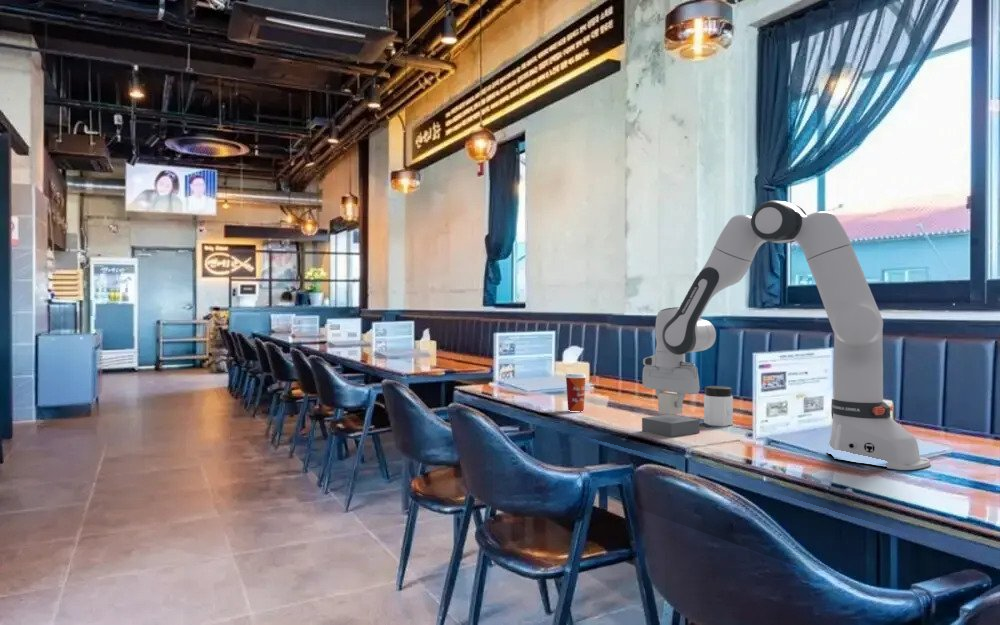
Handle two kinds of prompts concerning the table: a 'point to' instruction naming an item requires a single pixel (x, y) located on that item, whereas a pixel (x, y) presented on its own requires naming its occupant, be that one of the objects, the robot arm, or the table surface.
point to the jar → (718, 406)
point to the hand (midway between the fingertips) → (670, 406)
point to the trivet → (671, 425)
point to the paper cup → (575, 391)
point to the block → (668, 403)
